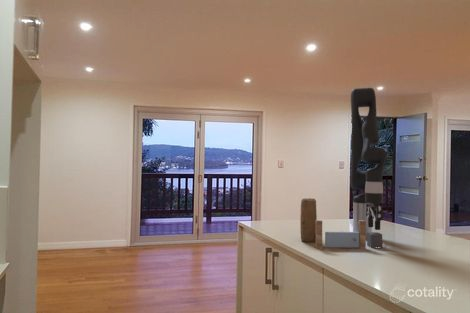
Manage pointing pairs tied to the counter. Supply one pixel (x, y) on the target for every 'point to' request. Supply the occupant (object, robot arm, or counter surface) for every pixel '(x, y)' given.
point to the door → (342, 239)
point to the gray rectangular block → (374, 239)
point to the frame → (361, 246)
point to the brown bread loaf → (308, 220)
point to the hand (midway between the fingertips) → (373, 228)
